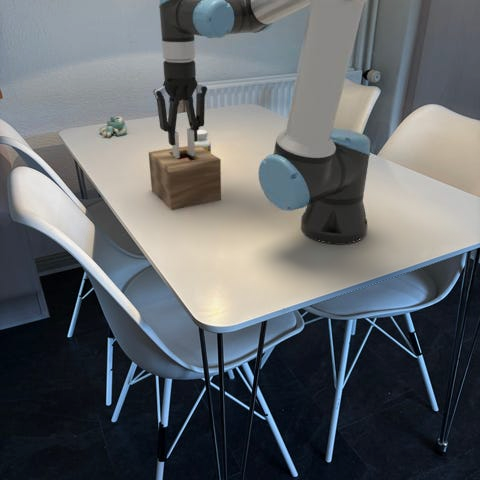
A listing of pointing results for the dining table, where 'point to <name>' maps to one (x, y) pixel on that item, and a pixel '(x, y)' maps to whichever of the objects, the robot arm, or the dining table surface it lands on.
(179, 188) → the coin box
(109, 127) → the stuffed animal
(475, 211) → the dining table surface
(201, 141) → the pill bottle
